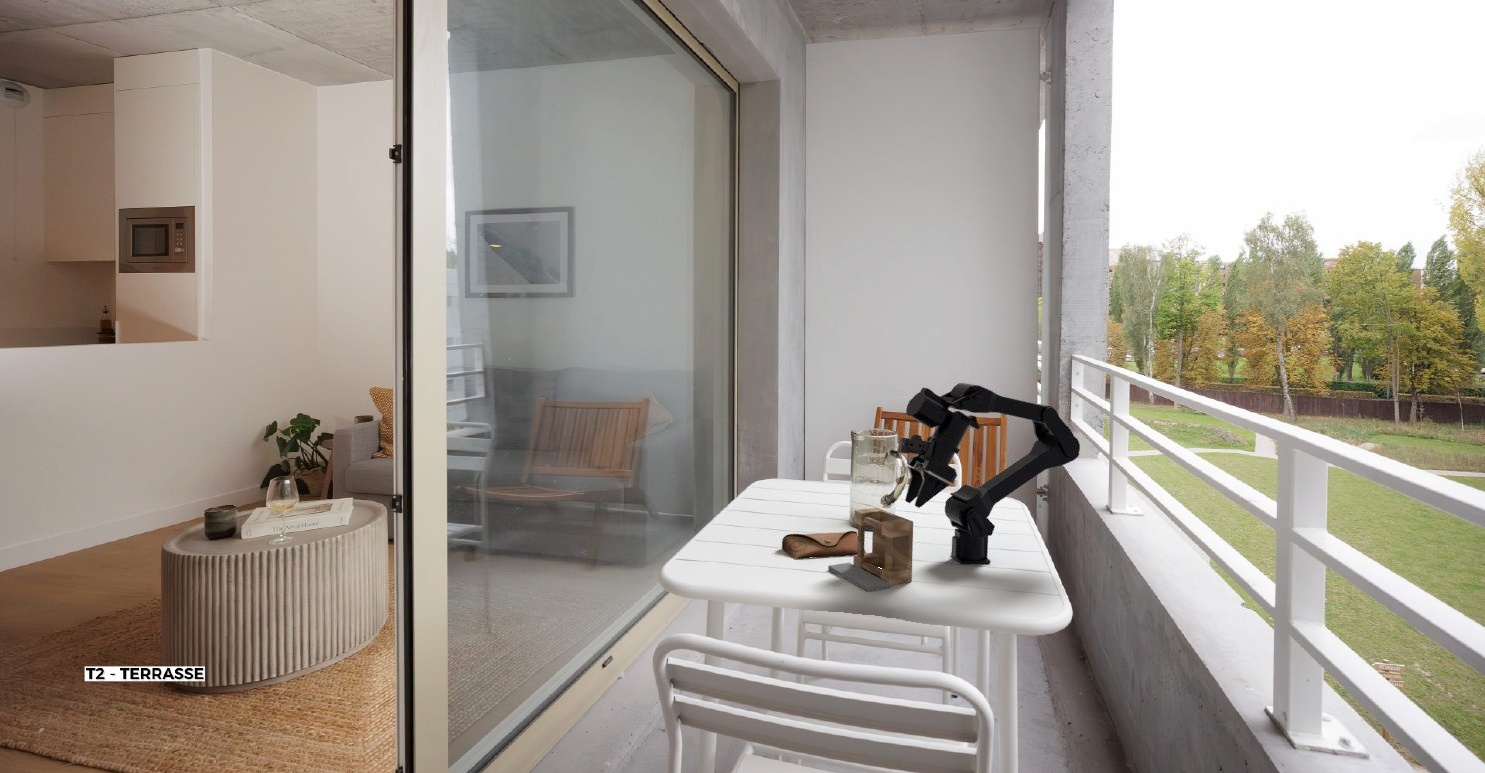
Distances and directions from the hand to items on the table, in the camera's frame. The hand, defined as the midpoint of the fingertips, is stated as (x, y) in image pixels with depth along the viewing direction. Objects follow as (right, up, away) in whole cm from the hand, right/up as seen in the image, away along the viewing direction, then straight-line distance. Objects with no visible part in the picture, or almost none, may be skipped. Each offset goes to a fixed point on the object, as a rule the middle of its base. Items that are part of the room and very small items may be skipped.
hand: (911, 504), depth 161 cm
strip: (-12, -13, -8) cm, 20 cm away
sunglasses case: (-17, -12, +9) cm, 23 cm away
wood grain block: (-7, -13, -5) cm, 16 cm away
